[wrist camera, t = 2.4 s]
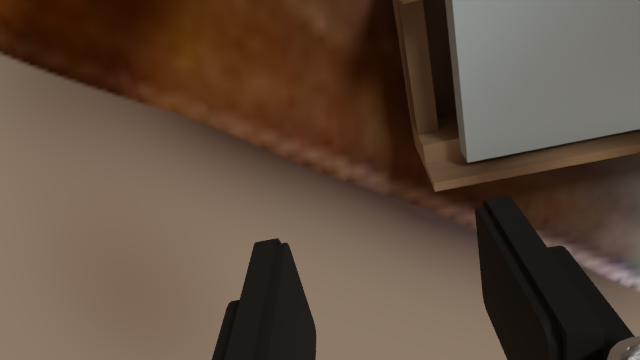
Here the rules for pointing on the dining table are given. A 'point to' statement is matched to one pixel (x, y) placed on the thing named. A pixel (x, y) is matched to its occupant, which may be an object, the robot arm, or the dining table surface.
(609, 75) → the cover plate
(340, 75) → the dining table surface
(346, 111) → the dining table surface
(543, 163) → the walnut box
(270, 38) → the dining table surface
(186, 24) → the dining table surface
